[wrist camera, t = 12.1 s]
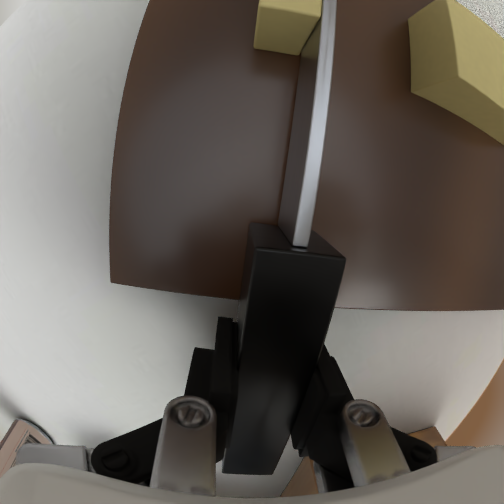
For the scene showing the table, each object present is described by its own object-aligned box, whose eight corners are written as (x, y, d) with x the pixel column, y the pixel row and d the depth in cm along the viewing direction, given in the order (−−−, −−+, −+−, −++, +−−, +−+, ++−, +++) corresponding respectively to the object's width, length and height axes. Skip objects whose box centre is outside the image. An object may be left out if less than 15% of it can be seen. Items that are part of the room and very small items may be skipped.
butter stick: (502, 82, 8) (540, 77, 5) (505, 147, 9) (547, 150, 6) (407, 18, 7) (444, -8, 4) (410, 92, 8) (458, 76, 5)
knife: (267, 427, 12) (272, 475, 9) (223, 425, 12) (221, 473, 9) (340, -26, 6) (366, -65, 3) (287, -39, 6) (300, -84, 3)
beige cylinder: (9, 409, 14) (-41, 492, 3) (43, 424, 14) (-5, 523, 3) (31, 440, 15) (-7, 518, 4) (65, 454, 16) (31, 544, 4)
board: (532, 91, 8) (543, 90, 7) (508, 302, 13) (518, 309, 12) (181, -48, 6) (177, -61, 5) (121, 272, 11) (110, 282, 10)
